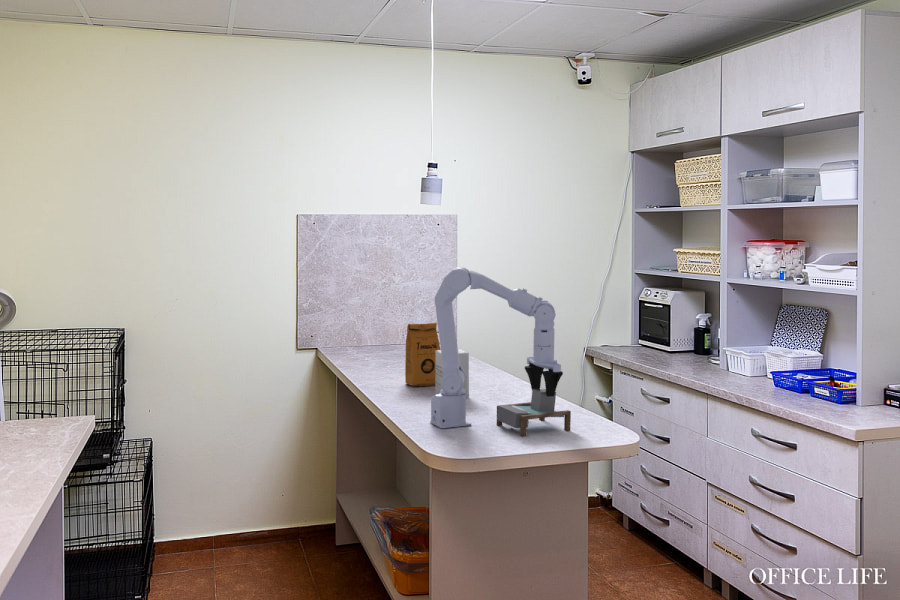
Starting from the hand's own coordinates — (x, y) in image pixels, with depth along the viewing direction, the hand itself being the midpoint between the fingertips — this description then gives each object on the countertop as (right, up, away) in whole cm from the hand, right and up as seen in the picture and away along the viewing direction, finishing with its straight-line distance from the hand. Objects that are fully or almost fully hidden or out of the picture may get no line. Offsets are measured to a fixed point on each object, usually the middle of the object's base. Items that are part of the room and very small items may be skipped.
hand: (542, 393), depth 221 cm
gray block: (0, -5, 0) cm, 5 cm away
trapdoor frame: (-3, -9, -1) cm, 10 cm away
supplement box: (-25, -6, +41) cm, 48 cm away
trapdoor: (-4, -8, -1) cm, 9 cm away
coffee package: (-35, -4, +59) cm, 69 cm away
